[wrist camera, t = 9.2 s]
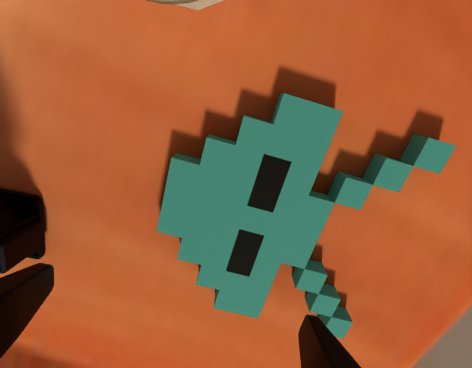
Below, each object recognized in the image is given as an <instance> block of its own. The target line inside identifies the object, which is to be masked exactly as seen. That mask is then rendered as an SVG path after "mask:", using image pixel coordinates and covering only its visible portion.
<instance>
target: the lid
mask: <svg viewBox="0 0 472 368" xmlns="http://www.w3.org/2000/svg"><path fill="white" fill-rule="evenodd" d="M147 1H152V2H156V3H162V4H184V3H190V2H195V1H199V0H147Z"/></svg>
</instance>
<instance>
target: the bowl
mask: <svg viewBox="0 0 472 368" xmlns="http://www.w3.org/2000/svg"><path fill="white" fill-rule="evenodd" d="M221 1H224V0H199V1H195V2H190V3H184V4H175V5H179V6H183V7H187V8H190V9H194V10H200V9H203V8H205V7H208V6H211V5H213V4H216V3H218V2H221Z"/></svg>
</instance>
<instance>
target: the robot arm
mask: <svg viewBox="0 0 472 368" xmlns="http://www.w3.org/2000/svg"><path fill="white" fill-rule="evenodd" d="M34 201H35V202H36V203H35V202H34ZM44 254H45V248H44V226H43V203H42V199H41V198H40V197H38V196H35V195H30V194H26V193H21V192H16V191H11V190H6V189H1V188H0V273H5V272H7V271H8V270H10V269H11V268H12V267H14V266H15V265H17V264H18V263H19V262H21V261H22V260H23V259H25V258H26V257H28V258H33V259H40V258H41V257H43V256H44ZM53 286H54V268H53V266H52V265H49V264H44V263H38V264H35V265H32V266H30V267H27V268H25V269H22V270H19V271H17V272H14V273H12V274H9V275H6V276H4V277H1V278H0V358H1V357H2V356H3V355H4V354H5V352H6V351H7V350H8V349H9V348H10V346H11V345H12V344H13V343H14V342H15V340H16V339H17V338H18V337H19V336H20V334H21V333H22V332H23V330H24V329H25V327H26V326H27V325H28V323H29V322H30V320H31V319H32V318H33V316H34V315H35V313H36V312H37V311H38V309H39V308H40V306H41V305H42V304H43V302H44V301H45V299H46V298H47V297H48V295H49V294H50V292H51V291H52V289H53ZM299 348H300V359H301V368H361V367H360V366H359V364H358V363H357V362H356V361H355V360H354V358H353V357H352V356H351V355H350V354H349V353H348V351H347V350H346V349H345V348H344V347H343V345H342V344H341V343H340V342H339V341H338V340H337V338H336V337H335V336H334V335H333V334H332V332H331V331H330V330H329V329H328V328H327V327H326V325H325V324H324V323H323V322H322V321H321V319H320V318H319V317H317V316H313V315H306V316H305V318H304V320H303V323H302V325H301V327H300V330H299Z"/></svg>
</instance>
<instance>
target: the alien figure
mask: <svg viewBox="0 0 472 368" xmlns="http://www.w3.org/2000/svg"><path fill="white" fill-rule="evenodd" d="M342 113H343V111H341V110H337V109H334V108H331V107H328V106H324V105H321V104H318V103H315V102H311V101H308V100H305V99H302V98H298V97H295V96H292V95H289V94H285V93H281V94H280V95H279V98H278V101H277V105H276V108H275V111H274V114H273V117H272V120H271V122H267V121H264V120H260V119H257V118H254V117H250V116H247V115H243V119H242V122H241V126H240V129H239V133H238V136H237V140H236V142H235V141H231V140H228V139H224V138H221V137H217V136H214V135H210V134H209V135H208V136H207V138H206V142H205V146H204V150H203V154H202V158H201V159H197V158H194V157H190V156H187V155H183V154H179V153H176V154H175V155H174V156H173V157H171V162H170V167H169V172H168V177H167V182H166V187H165V192H164V197H163V202H162V207H161V212H160V217H159V222H158V227H157V232H160V233H164V234H168V235H172V236H176V237H180V238H182V241H181V245H180V249H179V253H178V257H177V259H179V260H183V261H187V262H191V263H195V264H199V265H201V267H200V270H199V274H198V278H197V283H196V285H200V286H204V287H209V288H213V289H217V291H216V294H215V301H214V308H216V309H220V310H224V311H228V312H233V313H237V314H241V315H245V316H250V317H254V318H258V317H259V315H260V312H261V310H262V307H263V305H264V303H265V300H266V298H267V295H268V293H269V290H270V288H271V286H272V283H273V281H274V278H275V276H276V274H277V271H278V269H279V266H280V264H281V263H282V264H286V265H290V266H294V267H296V268H295V270H294V272H293V274H292V277H293V281H294V284H295V288H296V289H300V290H304V291H308V293H307V295H306V297H305V299H306V302H307V305H308V309H309V312H312V313H316V314H319V316H318V317H319V318H320V319H321V321H322V322H323V323H324V324H325V325H326V327H327V328H328V329H329V330H330V331H331V332H332V334H333V335H334V336H335V337H339V338H344V337H345V335H346V333H347V331H348V330H349V328H350V326H351V325H352V323H353V322H352V320H351V318H350V316H349V314H348V312H347V310H346V308H344V307H340V306H338V304H339V302H340V300H341V299H340V297H339V295H338V293H337V291H336V289H335V287H334V286H332V285H328V284H324V282H325V280H326V278H327V276H328V274H327V272H326V270H325V268H324V266H323V264H322V263H321V262H317V261H313V260H309V258H310V256H311V254H312V252H313V249H314V247H315V245H316V243H317V241H318V238H319V236H320V234H321V232H322V230H323V228H324V225H325V223H326V221H327V219H328V217H329V214H330V212H331V210H332V208H333V206H334V203H337V204H341V205H344V206H348V207H352V208H355V209H359V210H361V208H362V206H363V204H364V202H365V200H366V198H367V196H368V194H369V192H370V190H371V188H372V186H373V185H375V186H378V187H382V188H385V189H389V190H392V191H396V192H400V190H401V188H402V186H403V184H404V182H405V181H406V179H407V177H408V175H409V173H410V171H411V169H412V168H413V166H415V167H418V168H422V169H425V170H428V171H432V172H435V173H439V174H440V173H441V171H442V169H443V168H444V166H445V164H446V163H447V161H448V159H449V158H450V156H451V154H452V152H453V151H454V149H455V147H456V146H455V145H451V144H448V143H445V142H442V141H438V140H435V139H432V138H429V137H424V136H418V135H413V136H412V137H411V139H410V141H409V143H408V145H407V147H406V149H405V151H404V153H403V155H402V157H401V159H400V161H399V160H395V159H392V158H388V157H385V156H382V155H378V154H375V153H374V155H373V157H372V159H371V162H370V164H369V166H368V168H367V170H366V172H365V174H364V176H363V178H360V177H356V176H353V175H349V174H346V173H342V172H339V171H338V172H337V174H336V177H335V179H334V181H333V184H332V186H331V188H330V190H329V193H328V195H326V194H323V193H319V192H315V191H312V190H311V189H312V186H313V184H314V181H315V179H316V177H317V174H318V172H319V169H320V167H321V164H322V162H323V160H324V157H325V155H326V152H327V150H328V147H329V145H330V143H331V140H332V138H333V135H334V133H335V130H336V128H337V126H338V123H339V121H340V118H341V116H342Z"/></svg>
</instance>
